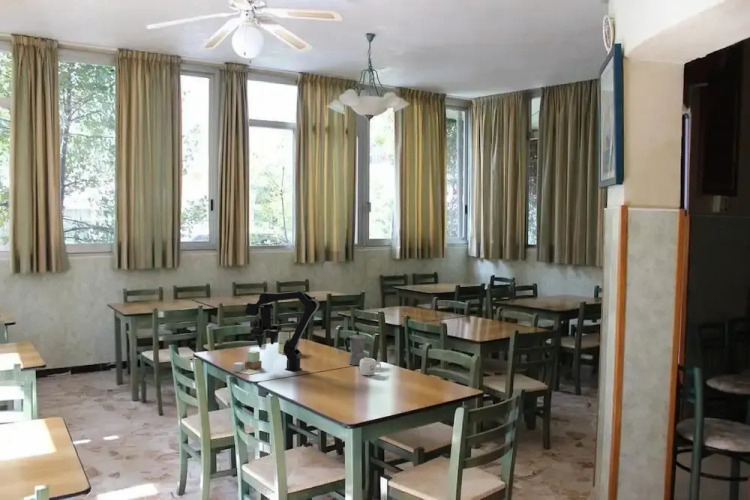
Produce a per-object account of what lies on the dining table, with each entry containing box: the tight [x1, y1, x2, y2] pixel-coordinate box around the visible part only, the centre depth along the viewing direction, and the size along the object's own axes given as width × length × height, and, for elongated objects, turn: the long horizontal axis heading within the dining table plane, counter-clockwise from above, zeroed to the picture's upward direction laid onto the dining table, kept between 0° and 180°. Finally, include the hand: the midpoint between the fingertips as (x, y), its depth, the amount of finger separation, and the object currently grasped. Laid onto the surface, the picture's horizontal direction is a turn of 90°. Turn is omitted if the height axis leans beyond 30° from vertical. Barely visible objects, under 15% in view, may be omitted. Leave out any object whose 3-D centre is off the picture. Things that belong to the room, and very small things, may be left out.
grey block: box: [232, 361, 246, 373], centre depth 330 cm, size 4×4×4 cm
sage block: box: [246, 350, 261, 363], centre depth 336 cm, size 4×4×5 cm
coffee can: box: [277, 326, 297, 355], centre depth 377 cm, size 10×10×14 cm
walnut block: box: [244, 360, 263, 371], centre depth 336 cm, size 6×6×4 cm
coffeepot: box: [343, 331, 368, 366], centre depth 352 cm, size 15×9×18 cm, turn 129°
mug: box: [359, 357, 382, 376], centre depth 330 cm, size 12×8×8 cm
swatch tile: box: [239, 369, 260, 376], centre depth 327 cm, size 7×7×1 cm
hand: (266, 345), depth 337 cm, fingers open, 9 cm apart
